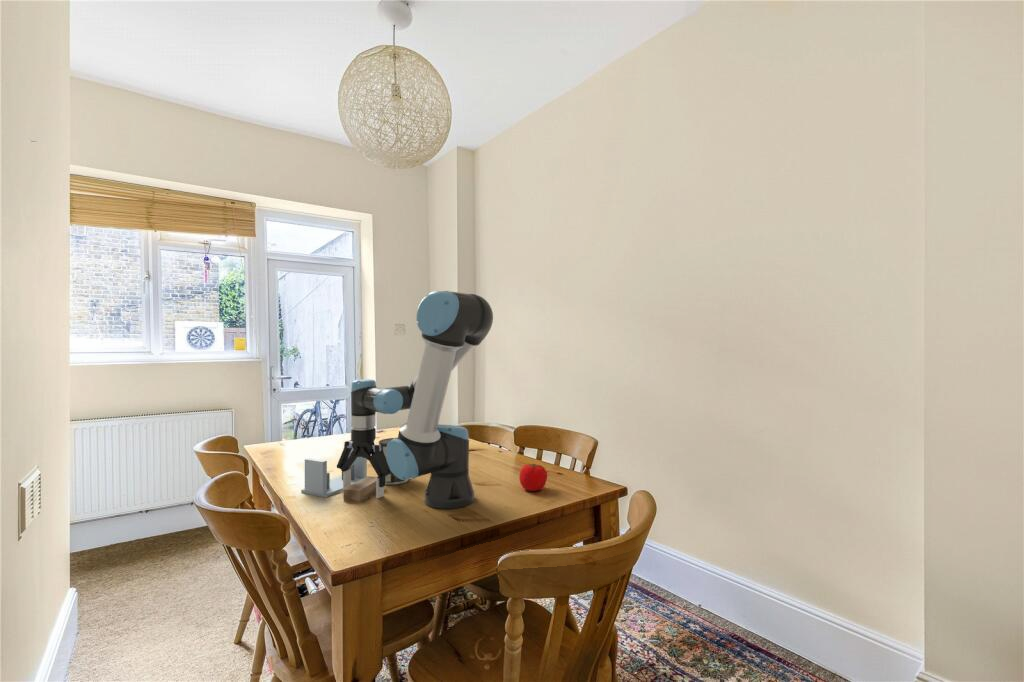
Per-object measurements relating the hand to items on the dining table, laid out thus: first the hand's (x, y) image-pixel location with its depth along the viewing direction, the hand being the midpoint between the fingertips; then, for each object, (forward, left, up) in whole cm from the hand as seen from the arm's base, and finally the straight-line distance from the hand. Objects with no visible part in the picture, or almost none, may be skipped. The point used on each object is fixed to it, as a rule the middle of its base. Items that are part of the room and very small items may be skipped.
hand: (363, 493), depth 148 cm
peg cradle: (+14, -2, 0) cm, 14 cm away
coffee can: (+1, -16, 0) cm, 16 cm away
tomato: (-47, -28, 0) cm, 55 cm away
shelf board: (0, 0, 0) cm, 1 cm away
